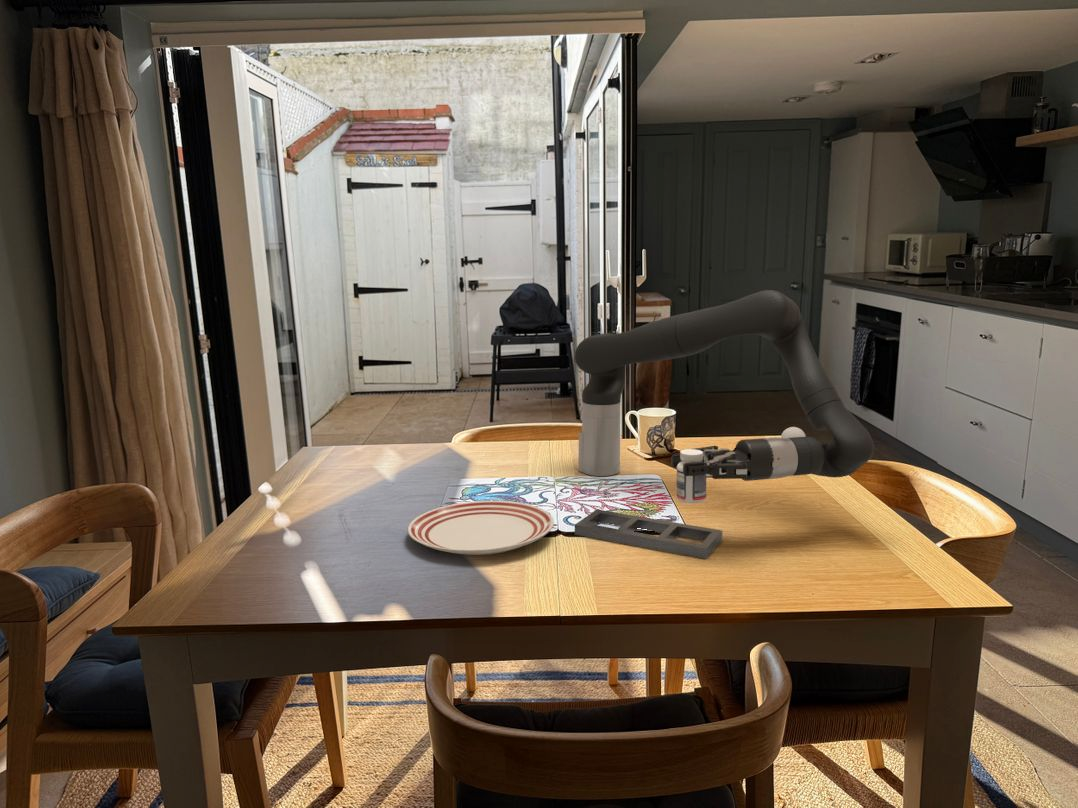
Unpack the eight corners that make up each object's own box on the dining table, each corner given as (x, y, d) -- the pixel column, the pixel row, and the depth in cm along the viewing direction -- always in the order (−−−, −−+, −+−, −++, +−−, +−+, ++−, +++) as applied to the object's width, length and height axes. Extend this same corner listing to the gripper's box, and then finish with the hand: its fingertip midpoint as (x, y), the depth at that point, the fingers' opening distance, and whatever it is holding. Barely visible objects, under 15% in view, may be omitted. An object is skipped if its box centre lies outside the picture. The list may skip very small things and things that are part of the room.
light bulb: (801, 463, 197) (803, 424, 195) (806, 470, 191) (809, 430, 189) (777, 463, 198) (779, 424, 196) (781, 470, 192) (784, 429, 190)
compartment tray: (574, 534, 151) (574, 524, 150) (596, 518, 159) (596, 509, 159) (705, 559, 138) (706, 548, 138) (722, 540, 147) (722, 530, 147)
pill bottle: (707, 496, 145) (708, 449, 143) (704, 505, 140) (705, 456, 138) (678, 493, 147) (679, 447, 145) (674, 502, 142) (674, 454, 140)
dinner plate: (380, 555, 142) (379, 537, 141) (448, 507, 167) (448, 492, 167) (523, 575, 133) (522, 557, 132) (572, 522, 158) (572, 506, 157)
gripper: (748, 429, 151) (664, 435, 148) (786, 448, 137) (693, 455, 134) (747, 467, 152) (663, 474, 149) (784, 490, 138) (692, 497, 135)
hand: (678, 465), depth 141 cm, fingers closed on pill bottle, 5 cm apart
